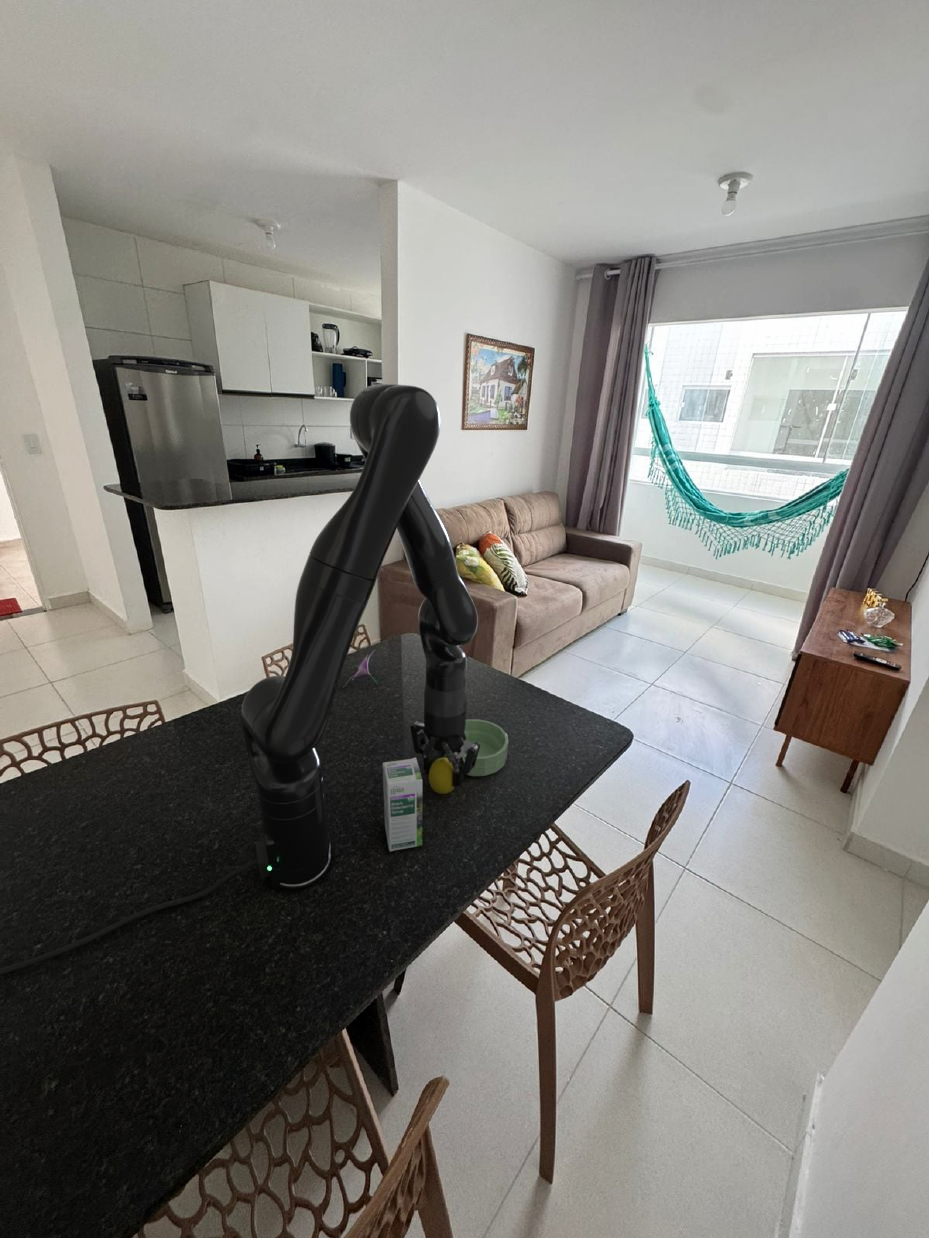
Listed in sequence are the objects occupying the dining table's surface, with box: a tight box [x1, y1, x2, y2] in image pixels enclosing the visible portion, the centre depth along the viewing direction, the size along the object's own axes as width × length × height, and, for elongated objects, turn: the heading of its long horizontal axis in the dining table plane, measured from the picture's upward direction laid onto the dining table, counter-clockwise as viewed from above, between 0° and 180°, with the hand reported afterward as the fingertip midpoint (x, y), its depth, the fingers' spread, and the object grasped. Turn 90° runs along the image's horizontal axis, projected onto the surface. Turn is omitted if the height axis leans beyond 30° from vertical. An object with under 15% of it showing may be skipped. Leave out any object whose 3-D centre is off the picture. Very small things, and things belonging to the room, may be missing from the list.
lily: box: [342, 650, 379, 689], centre depth 132 cm, size 12×12×10 cm
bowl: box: [443, 718, 509, 777], centre depth 107 cm, size 13×13×5 cm
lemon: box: [428, 757, 456, 795], centre depth 97 cm, size 6×6×8 cm
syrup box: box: [382, 757, 423, 853], centre depth 86 cm, size 6×6×14 cm
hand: (443, 778), depth 97 cm, fingers closed on lemon, 5 cm apart
